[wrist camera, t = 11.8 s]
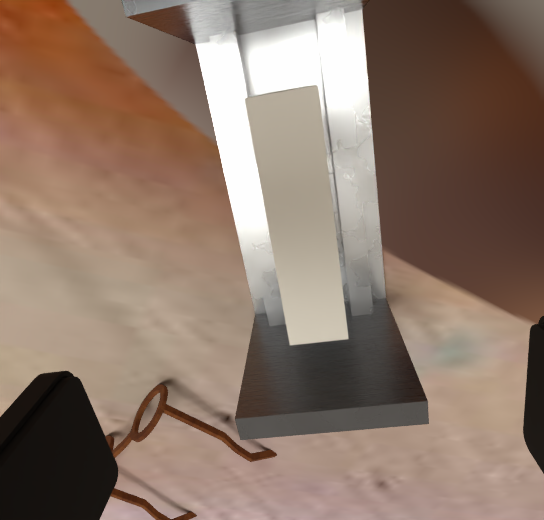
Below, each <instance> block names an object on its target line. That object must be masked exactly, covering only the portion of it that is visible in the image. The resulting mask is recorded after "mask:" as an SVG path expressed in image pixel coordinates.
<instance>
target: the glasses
mask: <svg viewBox="0 0 544 520" xmlns="http://www.w3.org/2000/svg"><path fill="white" fill-rule="evenodd" d="M158 393H160V401H159V405H158V408H157V410H156V413H155V415H154V416H153V418H152V420H151V421H150V423H149V424H148V425H147V427H146V428H145V429H144V430H143V431H142V432H140V433H138V428H139V424H140V420H141V417H142V415H143V412H144V410H145V409H146V407H147V405H148V404H149V402H150V401H151V400H152V399H153V397H154V396H155V395H157V394H158ZM167 396H168V389H167V387H166V386H164V385H162V384H160V385H158V386H156V387H155V388H154V389H153V390H152V391H151V392H150V393H149V394H148V395H147V396H146V398H145V399H144V401H143V402H142V404H141V406H140V407H139V409H138V411H137V414H136V417H135V419H134V422H133V426H132V429H131V432H130V433H129V434H128V436H127V437H126V438H125V439H124V440H123V441H122V442H121V443H120V444H119V445H118V446H117V447H116V448H115V449H114V450H113V446H114V437H111V436H109V435H108V436H106V437H105V438H106V440H107V442H108V444H109V447H110V449H111V451H112V454H113V456H114V458H115V457H116V456H117V455H119V454H120V453H121V452H122V451H123V450H124V449H125V448H126V447H127V446H128V445H129V443H130V442H131V440H134V441H136V442H140V441H142V440H143V439H145V438H146V437H147V436H148V435H149V434H150V433H151V431H152V430H153V429H154V427H155V426H156V424H157V423H158V421H159V419H160V417H161V415H162V413H165V414H167V415H169V416H171V417H173V418H175V419H178V420H180V421H182V422H184V423H186V424H188V425H190V426H192V427H194V428H197V429H199V430H201V431H203V432H205V433H207V434H209V435H211V436H214V437H216V438H218V439H220V440H222V441H223V442H224V443H225V444H226V445H227V446H228V447H230V448H231V449H232V450H233V451H234V452H235V453H237V454H238V455H240V456H242V457H243V458H245V459H246V460H248V461H250V462H252V461H257V460H262V459H267V458H272V457H275V456H277V454H276V453H275V452H273V451H272V450H267V451H262V452H257V453H249V452H248V451H246V450H245V449H243V448H242V447H240V446H239V445H237V444H236V443H235V442H234V441H233V440H232V439H231V438H230V437H229V436H228V435H227V434H226V433H224V432H222V431H220V430H218V429H216V428H214V427H212V426H210V425H208V424H206V423H204V422H202V421H200V420H198V419H196V418H194V417H192V416H189V415H187V414H185V413H183V412H181V411H179V410H177V409H175V408H173V407H171V406H169V405H167V404H166V401H167ZM110 496H111V497H114V498H117V499H120V500H123V501H125V502H128V503H131V504H134V505H137V506H139V507H142V508H143V509H144V510H146V511H147V512H148V513H149V514H150V515H151V516H152V517H154V518H155V519H156V520H189V519H191V518H194V517H196V516H197V515H196V514H194V513H193V512H189V513H187V514H184V515H182V516H179V517H177V518H174V519H170V518H168V517H166V516H165V515H163V514H161V513H160V512H158V511H157V510H156V509H155V508H154V507H153V506H152V505H151V504H149V503H148V502H147V501H146V500H145V499H142V498H139V497H137V496H134V495H131V494H128V493H126V492H123V491H120V490H118V489H115V488H114V489H113V491H112V493H111V495H110Z"/></svg>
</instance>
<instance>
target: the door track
mask: <svg viewBox="0 0 544 520" xmlns="http://www.w3.org/2000/svg"><path fill="white" fill-rule="evenodd" d="M368 2H369V0H122V4H123V8H124V11H125V15H126V17H128V18H130V19H133V20H135V21H138V22H140V23H143V24H146V25H148V26H150V27H153V28H156V29H158V30H161V31H163V32H166V33H169V34H171V35H173V36H176V37H178V38H181V39H183V40H186V41H189V42H191V43H193V44H196V47H197V52H198V56H199V61H200V65H201V70H202V74H203V79H204V83H205V88H206V93H207V97H208V102H209V106H210V111H211V115H212V120H213V124H214V129H215V133H216V138H217V143H218V147H219V152H220V156H221V161H222V165H223V170H224V174H225V179H226V184H227V188H228V193H229V197H230V202H231V206H232V211H233V215H234V220H235V224H236V229H237V233H238V238H239V243H240V247H241V252H242V256H243V261H244V265H245V270H246V274H247V279H248V283H249V288H250V293H251V297H252V302H253V306H254V311H255V318H254V324H253V329H252V334H251V339H250V344H249V349H248V354H247V360H246V365H245V370H244V375H243V380H242V385H241V390H240V395H239V401H238V406H237V411H236V416H235V421H236V425H237V429H238V432H239V436H240V440H247V439H258V438H270V437H282V436H293V435H305V434H316V433H328V432H340V431H351V430H363V429H374V428H386V427H397V426H409V425H421V424H429V418H428V400H427V398H426V396H425V393H424V391H423V388H422V386H421V383H420V381H419V378H418V376H417V373H416V371H415V368H414V366H413V363H412V361H411V359H410V356H409V354H408V351H407V349H406V346H405V344H404V341H403V339H402V336H401V334H400V331H399V329H398V326H397V324H396V322H395V319H394V317H393V314H392V312H391V309H390V307H389V304H388V302H387V299H386V292H385V280H384V268H383V256H382V244H381V232H380V220H379V208H378V197H377V184H376V171H375V159H374V147H373V135H372V123H371V111H370V99H369V87H368V77H367V76H368V75H367V63H366V52H365V39H364V28H363V15H362V9H363V8H364V6H365V5H366V4H367V3H368ZM310 85H318V87H319V96H320V104H321V112H322V121H323V129H324V137H325V146H326V154H327V163H328V171H329V179H330V188H331V196H332V204H333V213H334V221H335V229H336V238H337V246H338V254H339V263H340V271H341V280H342V288H343V296H344V305H345V313H346V321H347V330H348V338H349V339H345V340H336V341H326V342H317V343H308V344H299V345H290V343H289V338H288V333H287V327H286V322H285V316H284V311H283V305H282V300H281V294H280V289H279V284H278V278H277V273H276V267H275V262H274V256H273V251H272V245H271V240H270V235H269V229H268V224H267V218H266V213H265V207H264V202H263V196H262V191H261V186H260V180H259V175H258V169H257V164H256V158H255V153H254V147H253V142H252V137H251V131H250V126H249V120H248V115H247V109H246V104H245V98H249V97H253V96H257V95H262V94H266V93H272V92H277V91H283V90H288V89H293V88H299V87H304V86H310Z"/></svg>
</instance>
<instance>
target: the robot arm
mask: <svg viewBox="0 0 544 520" xmlns="http://www.w3.org/2000/svg"><path fill="white" fill-rule="evenodd" d="M523 434H524V439H525V442H526V445H527V447H528V449H529V451H530V453H531V454H532V456H533V457H534V459H535V461H536V462H537V464H538V465H539V467H540V469H541V470H542V472H543V473H544V316H543V317H541V318H540V320H539V323H538V324H535V325H533V326H532V327H531V329H530V339H529V353H528V368H527V382H526V397H525V411H524V426H523ZM117 478H118V466H117V463H116V461H115V458H114V456H113V454H112V451H111V449H110V447H109V444H108V442H107V440H106V438H105V435H104V433H103V431H102V428H101V426H100V424H99V421H98V419H97V417H96V415H95V412H94V410H93V408H92V405H91V403H90V401H89V398H88V396H87V394H86V392H85V389H84V387H83V385H82V382H81V381H80V379H79V378H78V377H74V376H73V374H72V373H70V372H69V371H61V372H52V373H43V374H40V375H38V376H37V377H36V378H35V379H34V380H33V381H32V382H31V383H30V385H29V386H28V387H27V388H26V389H25V390H24V391H23V392H22V393H21V395H20V396H19V397H18V398H17V399H16V400H15V401H14V402H13V403H12V405H11V406H10V407H9V408H8V409H7V410H6V411H5V412H4V414H3V415H2V416H1V417H0V520H99V519H100V517H101V515H102V513H103V511H104V508H105V506H106V504H107V502H108V500H109V498H110V495H111V493H112V491H113V489H114V487H115V484H116V482H117Z"/></svg>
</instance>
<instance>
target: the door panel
mask: <svg viewBox="0 0 544 520" xmlns="http://www.w3.org/2000/svg"><path fill="white" fill-rule="evenodd" d="M245 104H246V109H247V115H248V120H249V126H250V131H251V137H252V142H253V147H254V153H255V158H256V164H257V169H258V175H259V180H260V186H261V191H262V196H263V202H264V207H265V213H266V218H267V224H268V229H269V235H270V240H271V245H272V251H273V256H274V262H275V267H276V273H277V278H278V284H279V289H280V294H281V300H282V305H283V311H284V316H285V322H286V327H287V333H288V338H289V343H290V345H299V344H308V343H317V342H326V341H336V340H345V339H349V338H348V330H347V321H346V313H345V305H344V296H343V288H342V280H341V271H340V263H339V254H338V246H337V238H336V229H335V221H334V213H333V204H332V196H331V188H330V179H329V171H328V163H327V154H326V146H325V137H324V129H323V121H322V112H321V104H320V96H319V87H318V85H310V86H304V87H299V88H293V89H288V90H283V91H277V92H272V93H266V94H262V95H257V96H253V97H249V98H245Z"/></svg>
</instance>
